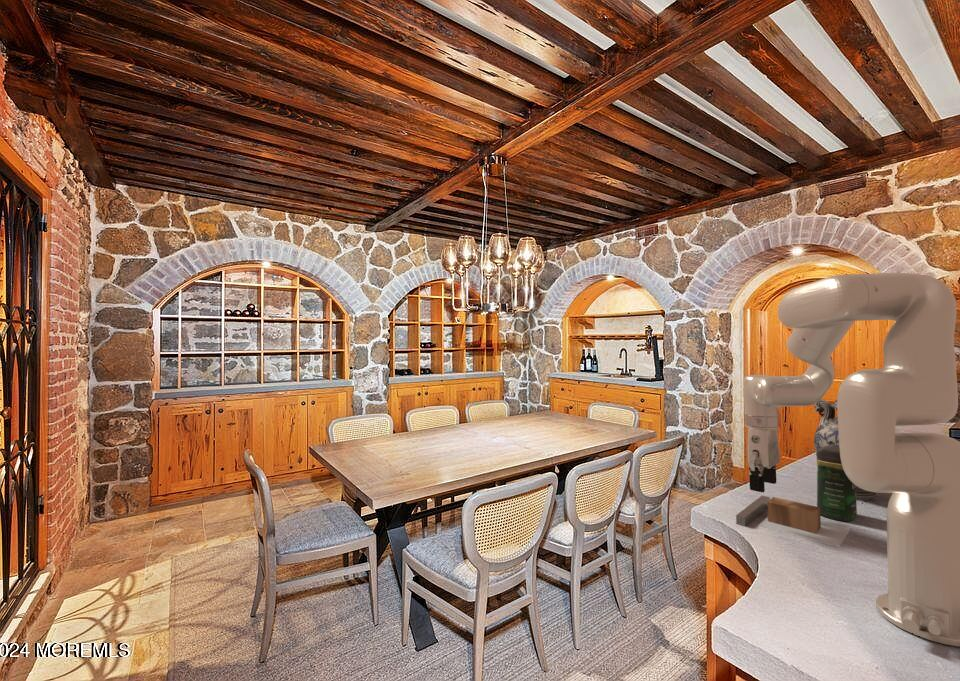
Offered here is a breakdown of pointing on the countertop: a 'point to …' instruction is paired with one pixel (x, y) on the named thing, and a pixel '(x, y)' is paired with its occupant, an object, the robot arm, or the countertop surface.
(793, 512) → the walnut block
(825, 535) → the mat
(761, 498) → the steel bar
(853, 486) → the coffee jar
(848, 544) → the countertop surface
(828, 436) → the decorative vase
